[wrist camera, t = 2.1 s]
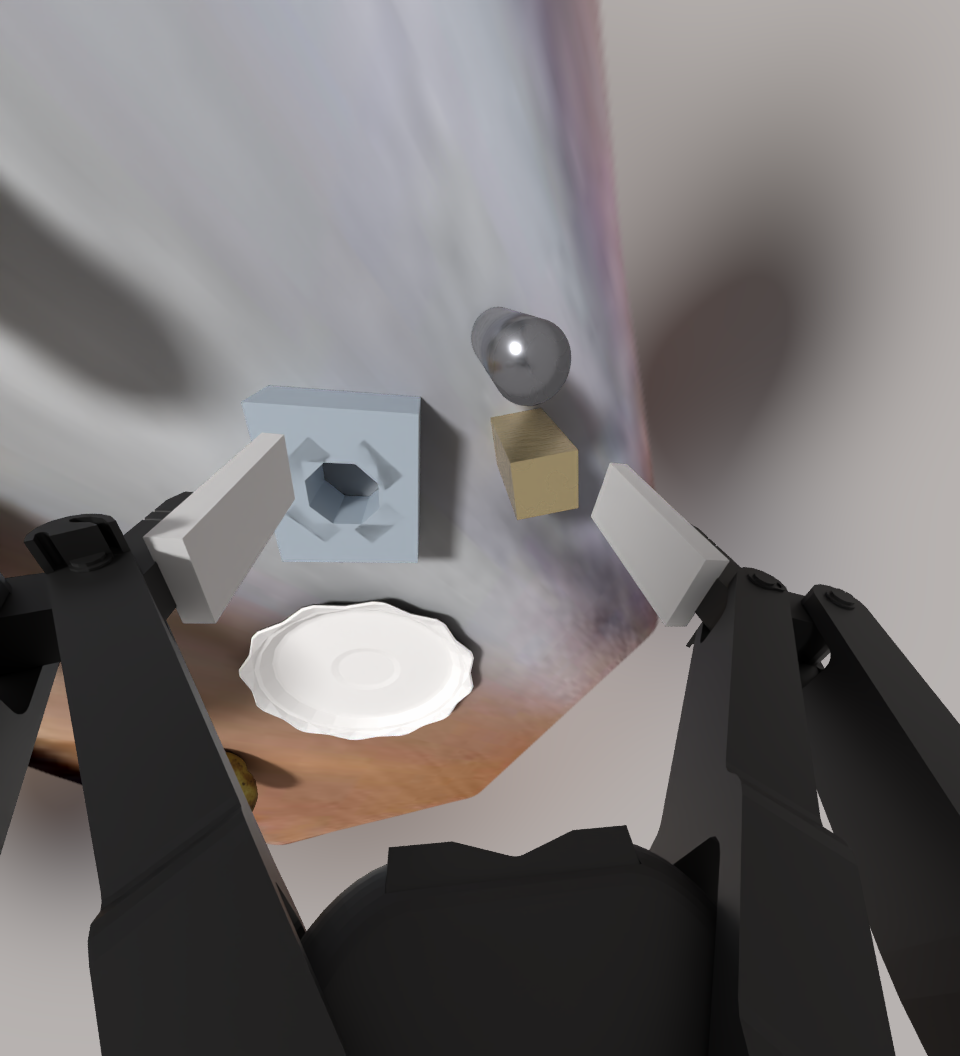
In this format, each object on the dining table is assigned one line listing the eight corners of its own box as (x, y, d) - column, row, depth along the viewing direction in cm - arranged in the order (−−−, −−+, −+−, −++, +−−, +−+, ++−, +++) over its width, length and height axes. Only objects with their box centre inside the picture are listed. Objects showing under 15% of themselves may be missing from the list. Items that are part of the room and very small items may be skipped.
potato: (236, 736, 55) (209, 797, 49) (275, 772, 63) (256, 829, 56) (182, 746, 55) (148, 808, 49) (227, 781, 62) (203, 839, 56)
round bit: (473, 303, 27) (497, 313, 17) (527, 310, 28) (579, 322, 18) (469, 363, 29) (487, 402, 20) (518, 368, 30) (561, 408, 20)
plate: (471, 714, 59) (472, 729, 58) (285, 732, 57) (280, 748, 55) (473, 582, 43) (475, 596, 41) (212, 597, 40) (201, 613, 38)
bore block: (268, 385, 29) (241, 401, 25) (420, 396, 30) (418, 414, 26) (299, 530, 36) (282, 561, 32) (419, 532, 38) (417, 562, 34)
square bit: (490, 417, 32) (510, 463, 24) (540, 408, 32) (578, 449, 24) (497, 464, 35) (517, 520, 26) (543, 455, 35) (578, 508, 26)
